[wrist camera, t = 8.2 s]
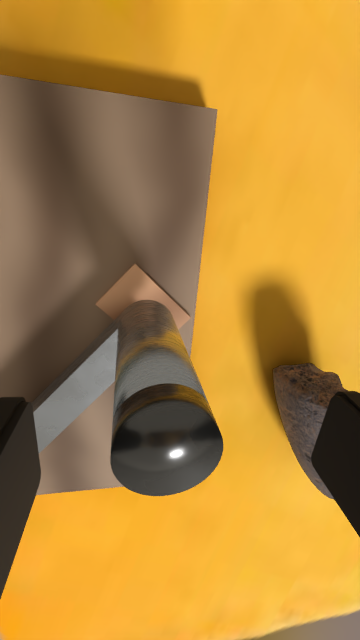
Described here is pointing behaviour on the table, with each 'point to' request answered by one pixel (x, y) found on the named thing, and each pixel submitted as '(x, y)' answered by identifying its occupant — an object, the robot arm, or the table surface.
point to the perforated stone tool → (304, 409)
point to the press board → (92, 240)
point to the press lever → (140, 403)
